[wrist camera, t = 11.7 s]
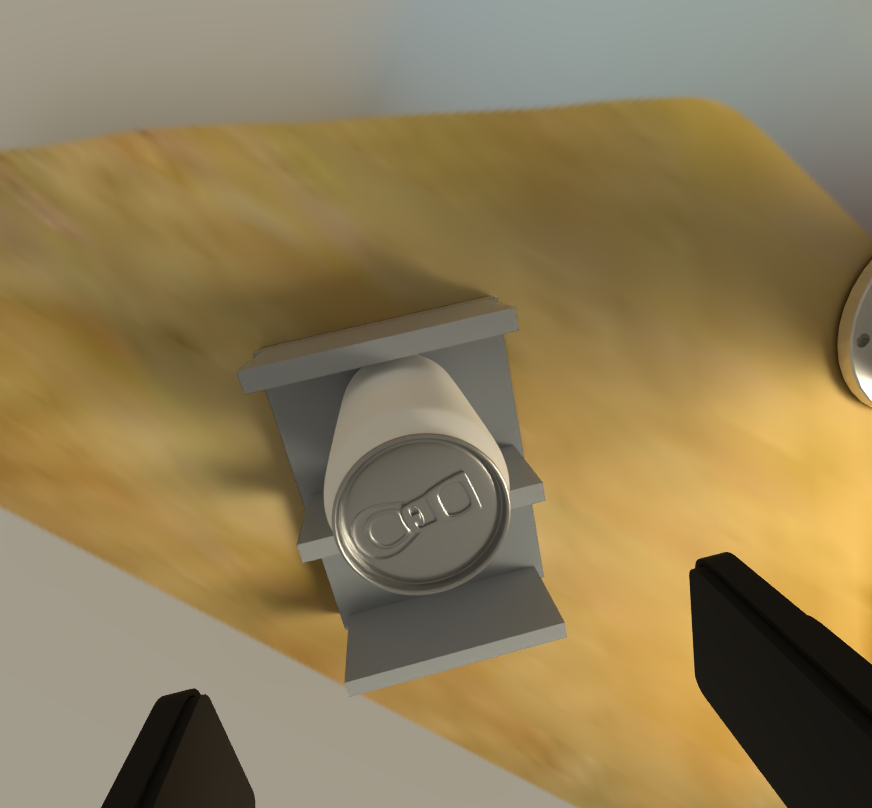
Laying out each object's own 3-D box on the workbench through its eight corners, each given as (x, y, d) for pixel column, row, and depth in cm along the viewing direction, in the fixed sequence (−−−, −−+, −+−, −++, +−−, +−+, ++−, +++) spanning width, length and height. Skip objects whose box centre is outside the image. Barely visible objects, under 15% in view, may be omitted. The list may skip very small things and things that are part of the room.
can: (319, 383, 25) (275, 480, 14) (429, 329, 25) (476, 383, 14) (375, 481, 27) (376, 637, 16) (477, 432, 27) (553, 553, 16)
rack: (490, 295, 27) (526, 304, 20) (536, 563, 32) (575, 634, 26) (259, 348, 26) (224, 374, 20) (346, 613, 31) (340, 699, 25)
